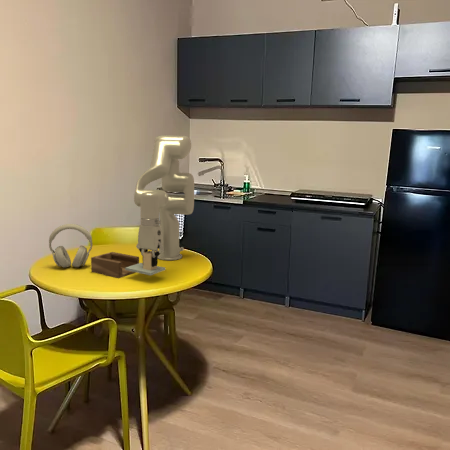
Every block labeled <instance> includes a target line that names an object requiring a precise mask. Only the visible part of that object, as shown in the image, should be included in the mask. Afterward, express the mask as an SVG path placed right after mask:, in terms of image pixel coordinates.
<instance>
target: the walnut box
mask: <svg viewBox="0 0 450 450" xmlns="http://www.w3.org/2000/svg"><path fill="white" fill-rule="evenodd" d="M138 263H140V256H136V255H131V254H125V253H120V252H116V251H110V252H107V253H103V254H99V255H96V256H91V257H90V264H91V267H90V268H91V273H93V274H97V275H98V274H99V275H101V276H102V275H103V276H108V277H111V278H116V279H121V278H124V277H127V276H129V275H133V274H135V273H137V272H132V271H128V270H125V268H126V267H129V266H132V265H135V264H138Z"/></svg>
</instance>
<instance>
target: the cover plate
mask: <svg viewBox="0 0 450 450" xmlns="http://www.w3.org/2000/svg"><path fill="white" fill-rule="evenodd" d="M155 253H156V252H155ZM152 257H153V256H152V250H148V251H147V252H144V253H143V256H142V262H139V263H138V264H135V265H132V266H129V267H126V268H125V270H128V271H132V272H136V273H137V274H144V275H147V276H153V275H155V274H159V273H161V272H164V271H166V267H164V266H158V265H157V266H154V267H152Z"/></svg>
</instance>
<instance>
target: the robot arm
mask: <svg viewBox="0 0 450 450" xmlns="http://www.w3.org/2000/svg"><path fill="white" fill-rule="evenodd" d="M191 150H192V140H191V138H190V137H189V136H187V135H166V134H165V135H159V136H156V137H155V139H154V145H153V149H152V155H151V160H150V167H148V169H146V171H144V173H143V174H141V175H140V176H139V178H138V179H137V182H136V185H135V190H134V194H133V201H134V204H135V206H136V207H139V208H140V225H139V228H138V234H137V244H136V249H138V251H139V252H140V254H141V256H142V257H143V253H144V252H147V251H152V256H153V257H152V267H154V266H158V260H162V261H175V260H176V261H177V260H181V259H183V255H182V254H181V252H182V251H184V250H185V248H184V247H183V246H181V247H180V221H179V220H178V218H177V217H176V215H183V216H184V215H187V216H188V215H192V214H193V212H194V208H195V178H194V176H193V174H192V173H190V172H181V171H180V161H179V160H183V159H185V158H186V157H187V156H188V155H189V154H190V152H191ZM159 179H161V188H162V189H147V188H146V187H147V186H148V184H149V185H150V183H152V182H154V181H157V180H159ZM169 192H170V193H171V192H172V193H184V194H168V193H169ZM155 252H156V253H155Z"/></svg>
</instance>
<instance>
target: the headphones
mask: <svg viewBox="0 0 450 450" xmlns="http://www.w3.org/2000/svg"><path fill="white" fill-rule="evenodd" d="M65 230H75V231H77V232H80V233H81V234H83V235H84V237H85V239H87V241H88V242H89V244H90V247H89V249H88V248H87V247H86V246H85V245H80V246H79V248H78V249H77V252H76V254H75V256H74V257H73V258H74V259H73V261H72V260H71V257H70V255H69V252H68V251H67V249H66V248H65V247H64V246H63V245H59V246H57V247H56V248H55V249H53V248H52V242H53V240H54V239H55V238H56V236H57V235H58V234H59V233H61V232H63V231H65ZM48 248H49V251H50V252H51V254H52V259H53V261H54V263H55V264H56V265H57V267H59V268H60V267H62V268H64V269H66V268H68V267H70V266H72V267H74V268H80V267H81V266H82V267H84V266H85V265H86V263H87V260H88V258H89V256H90V252H91V251H92V248H93V238H92V235H91V233H90V231H88V229H86V228H85V227H84V226H81V225H78V224H76V223H65V224H61V225H60V226H58V227H56V228H55V229H54V230H53V231H52V232H51V233H50V235H49V239H48Z"/></svg>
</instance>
